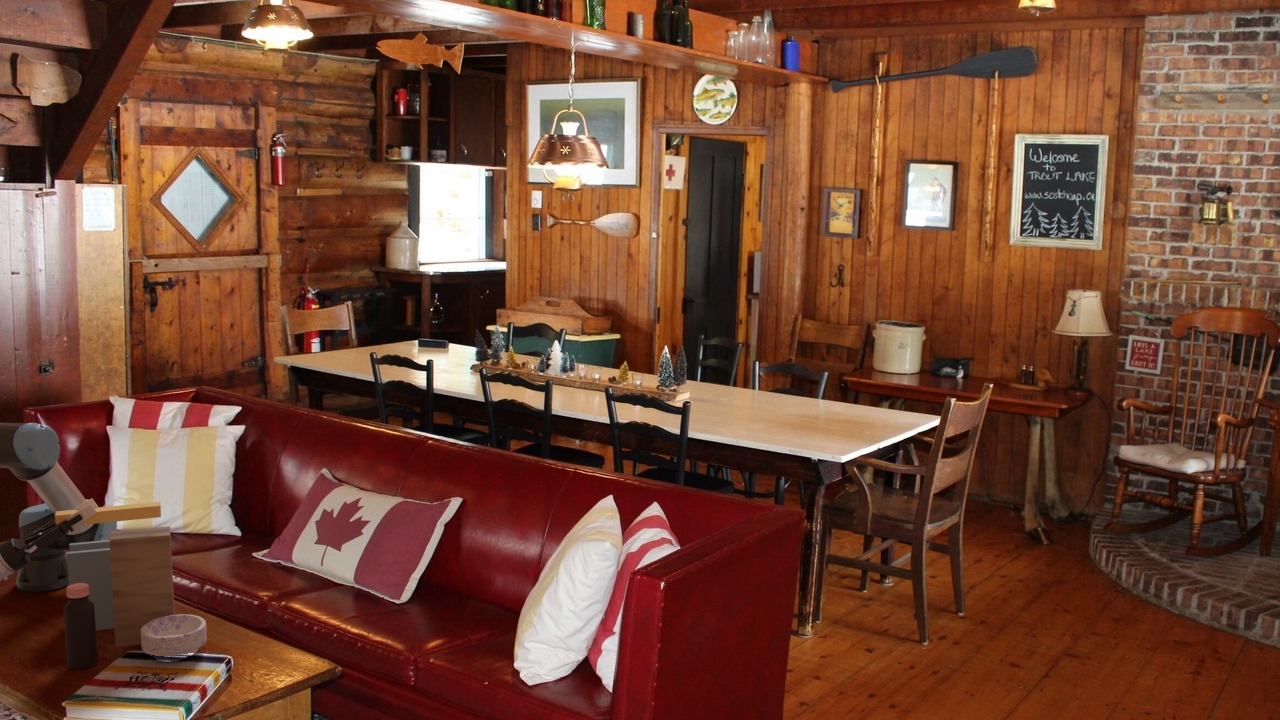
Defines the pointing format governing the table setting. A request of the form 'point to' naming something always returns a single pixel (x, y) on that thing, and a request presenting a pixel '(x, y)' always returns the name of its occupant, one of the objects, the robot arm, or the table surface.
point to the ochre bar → (116, 513)
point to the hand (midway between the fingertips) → (94, 505)
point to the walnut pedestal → (140, 580)
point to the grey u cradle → (94, 577)
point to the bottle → (80, 628)
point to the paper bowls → (173, 635)
